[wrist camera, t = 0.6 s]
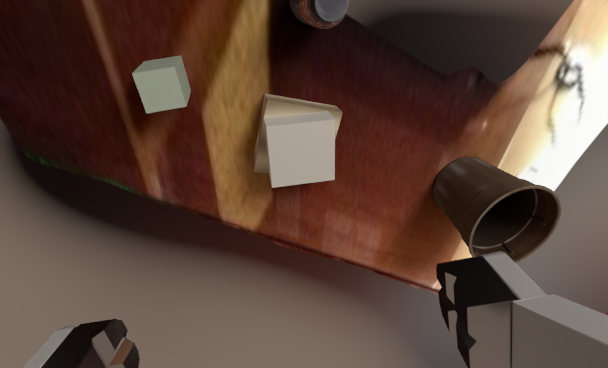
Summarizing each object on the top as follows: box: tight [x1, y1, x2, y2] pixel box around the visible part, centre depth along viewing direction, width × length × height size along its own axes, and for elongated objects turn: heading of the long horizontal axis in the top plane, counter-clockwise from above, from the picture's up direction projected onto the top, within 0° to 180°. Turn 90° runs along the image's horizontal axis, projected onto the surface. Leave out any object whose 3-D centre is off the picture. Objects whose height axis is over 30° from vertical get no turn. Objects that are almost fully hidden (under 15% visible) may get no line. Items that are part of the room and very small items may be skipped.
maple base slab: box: [253, 94, 342, 174], centre depth 57 cm, size 12×12×4 cm
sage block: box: [132, 56, 191, 113], centre depth 46 cm, size 5×5×8 cm
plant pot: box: [433, 157, 561, 263], centre depth 64 cm, size 16×16×16 cm
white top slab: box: [263, 111, 335, 188], centre depth 54 cm, size 10×10×4 cm
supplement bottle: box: [290, 0, 349, 29], centre depth 44 cm, size 6×6×11 cm
